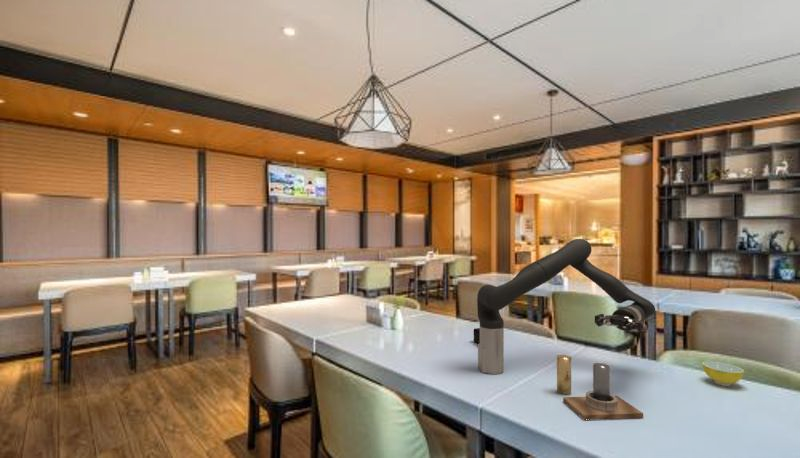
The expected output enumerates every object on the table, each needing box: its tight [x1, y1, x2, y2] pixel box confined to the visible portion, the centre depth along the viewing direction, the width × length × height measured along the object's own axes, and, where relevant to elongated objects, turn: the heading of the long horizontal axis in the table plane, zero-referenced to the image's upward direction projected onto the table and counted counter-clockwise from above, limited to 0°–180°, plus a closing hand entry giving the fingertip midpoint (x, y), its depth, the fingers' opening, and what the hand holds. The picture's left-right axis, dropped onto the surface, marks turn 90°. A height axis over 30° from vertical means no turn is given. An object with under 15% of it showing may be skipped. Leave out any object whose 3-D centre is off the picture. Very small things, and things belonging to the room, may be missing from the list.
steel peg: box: [592, 362, 611, 401], centre depth 116 cm, size 4×4×12 cm
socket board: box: [562, 390, 644, 421], centre depth 116 cm, size 18×12×4 cm, turn 95°
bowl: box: [701, 361, 745, 387], centre depth 137 cm, size 11×12×6 cm
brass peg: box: [556, 354, 572, 396], centre depth 129 cm, size 4×4×12 cm
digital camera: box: [473, 327, 480, 345], centre depth 183 cm, size 10×5×7 cm, turn 28°
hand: (612, 325), depth 124 cm, fingers open, 8 cm apart
